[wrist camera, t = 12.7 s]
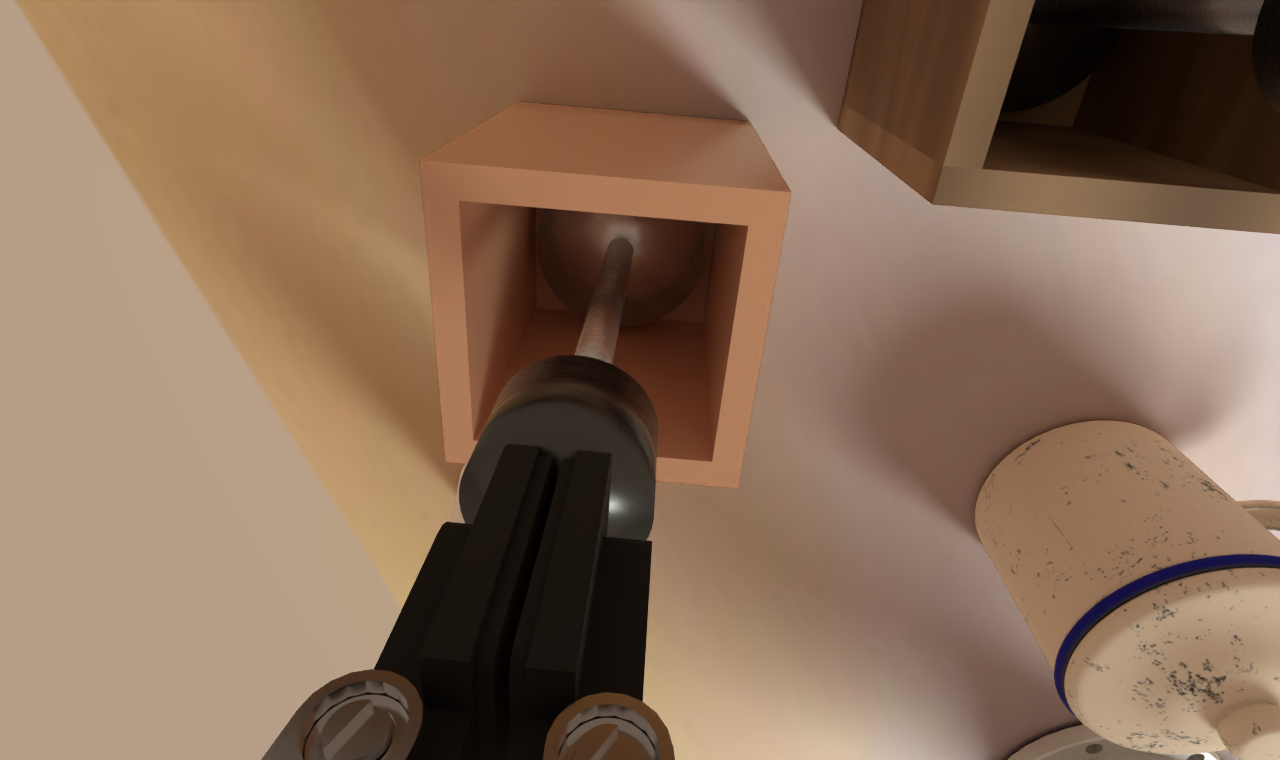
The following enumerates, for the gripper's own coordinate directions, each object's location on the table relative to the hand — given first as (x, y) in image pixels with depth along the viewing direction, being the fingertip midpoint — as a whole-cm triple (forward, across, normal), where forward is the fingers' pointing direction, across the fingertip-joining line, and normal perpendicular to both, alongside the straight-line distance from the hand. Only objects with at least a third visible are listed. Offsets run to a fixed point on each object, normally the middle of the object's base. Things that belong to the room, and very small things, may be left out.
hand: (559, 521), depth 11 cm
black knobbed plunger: (+14, 0, 0) cm, 14 cm away
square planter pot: (+16, 0, 0) cm, 16 cm away
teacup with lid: (+17, -22, +10) cm, 29 cm away
